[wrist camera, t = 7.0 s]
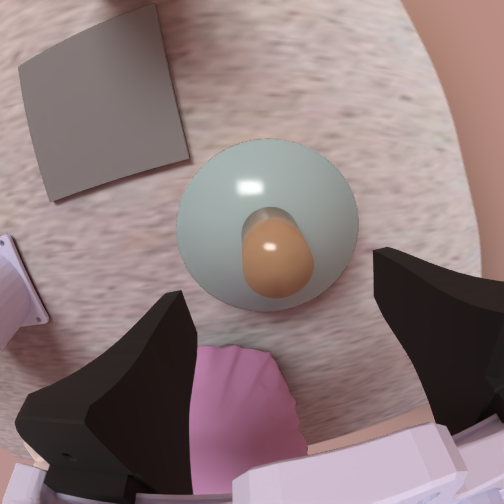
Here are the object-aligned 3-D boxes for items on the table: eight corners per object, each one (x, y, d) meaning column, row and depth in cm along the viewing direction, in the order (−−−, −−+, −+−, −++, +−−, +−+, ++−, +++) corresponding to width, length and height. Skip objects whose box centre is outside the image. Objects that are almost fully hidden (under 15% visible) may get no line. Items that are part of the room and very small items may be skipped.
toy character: (147, 326, 23) (79, 599, 5) (285, 306, 22) (350, 615, 4) (192, 420, 28) (181, 612, 10) (298, 407, 28) (333, 606, 9)
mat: (53, 200, 18) (50, 202, 18) (21, 67, 14) (18, 66, 14) (190, 157, 18) (189, 158, 18) (155, 5, 14) (154, 3, 13)
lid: (213, 320, 19) (208, 372, 15) (153, 171, 15) (124, 194, 11) (363, 278, 18) (392, 322, 14) (333, 118, 14) (368, 122, 10)
